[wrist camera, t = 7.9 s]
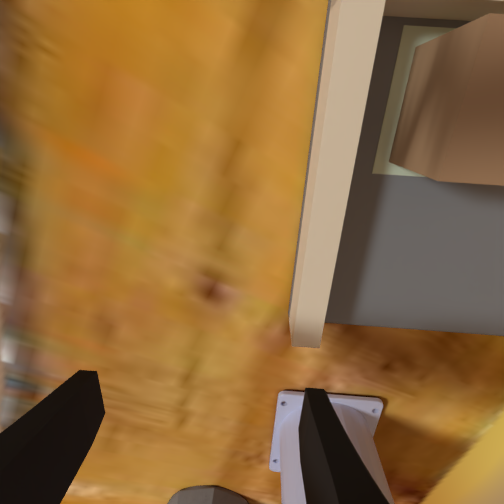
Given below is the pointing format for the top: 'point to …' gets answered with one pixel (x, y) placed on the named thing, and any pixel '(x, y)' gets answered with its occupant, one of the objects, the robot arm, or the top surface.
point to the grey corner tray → (389, 191)
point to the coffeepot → (206, 496)
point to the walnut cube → (455, 106)
